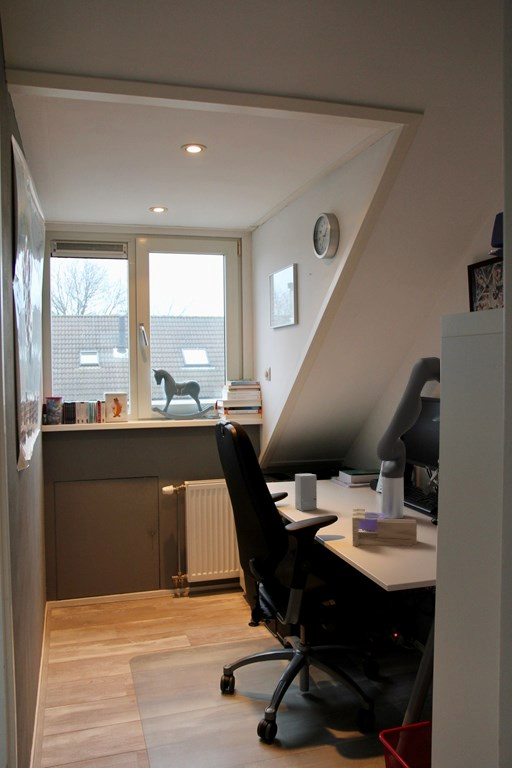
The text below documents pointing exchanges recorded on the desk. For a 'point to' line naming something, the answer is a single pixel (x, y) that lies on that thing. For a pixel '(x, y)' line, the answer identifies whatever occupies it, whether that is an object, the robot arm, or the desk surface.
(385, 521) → the light brown wooden block
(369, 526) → the tape roll
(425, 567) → the desk surface
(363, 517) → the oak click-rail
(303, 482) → the skincare box
